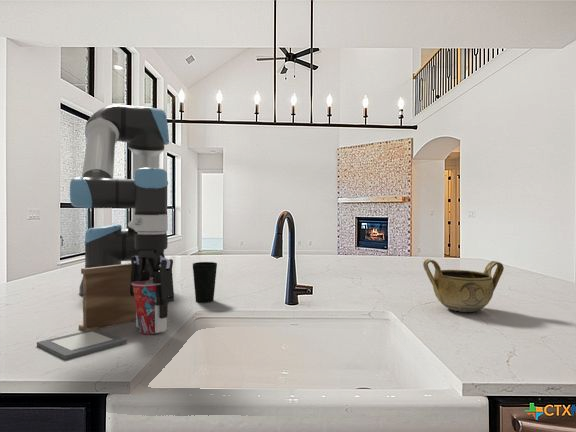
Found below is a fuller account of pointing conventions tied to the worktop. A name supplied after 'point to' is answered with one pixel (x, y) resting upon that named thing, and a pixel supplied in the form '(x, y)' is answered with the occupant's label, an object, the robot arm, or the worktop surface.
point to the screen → (107, 296)
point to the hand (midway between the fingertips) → (151, 328)
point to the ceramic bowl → (464, 286)
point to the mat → (81, 343)
